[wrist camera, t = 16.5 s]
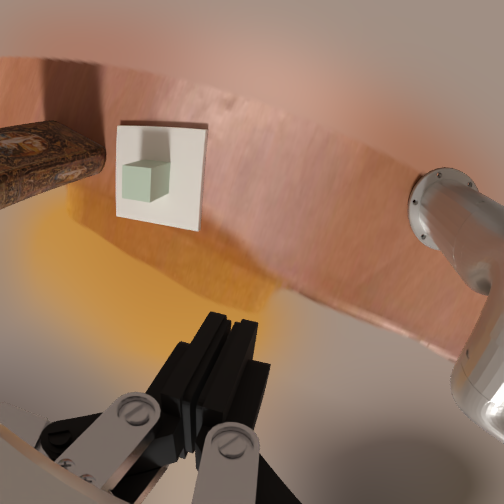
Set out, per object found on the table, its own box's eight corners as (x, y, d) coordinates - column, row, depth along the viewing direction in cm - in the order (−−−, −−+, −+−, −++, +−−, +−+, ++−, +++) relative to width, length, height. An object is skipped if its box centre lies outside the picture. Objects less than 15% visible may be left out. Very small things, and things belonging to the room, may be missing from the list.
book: (109, 149, 49) (-8, 181, 27) (100, 177, 52) (-10, 220, 29) (53, 119, 49) (-52, 139, 27) (47, 144, 52) (-54, 172, 29)
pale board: (208, 129, 44) (205, 129, 44) (200, 229, 51) (198, 231, 50) (120, 125, 47) (117, 125, 46) (119, 214, 54) (116, 216, 53)
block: (170, 162, 47) (151, 168, 41) (168, 193, 49) (150, 202, 43) (143, 159, 47) (122, 165, 42) (142, 189, 49) (122, 198, 44)
